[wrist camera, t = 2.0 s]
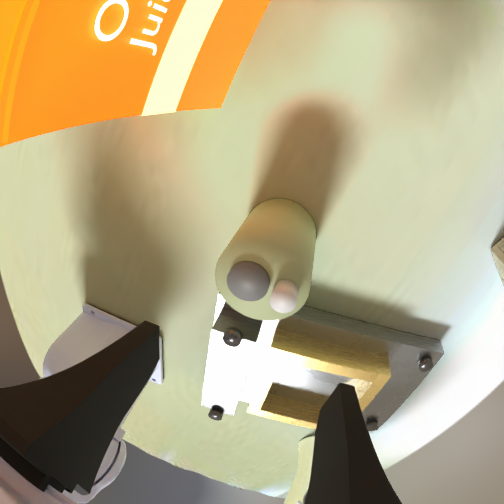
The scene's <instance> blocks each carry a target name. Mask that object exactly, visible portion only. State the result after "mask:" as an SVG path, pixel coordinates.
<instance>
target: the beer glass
mask: <svg viewBox="0 0 504 504" xmlns="http://www.w3.org/2000/svg"><path fill="white" fill-rule="evenodd" d="M314 440H315V435H313V436H309V437H306V438H304V439H302V440H301V441H300V442H299V444H298V454H299V462H298V468H297V472H296V475H295V478H294V481H293V483H292V485H291V488H290V490H289V492H288V494H287V497H286V499H285V502H284V504H304V503H305V499H306V495H307V492H308V488H309V482H310V476H311V468H312V459H313V449H314Z"/></svg>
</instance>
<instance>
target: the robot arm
mask: <svg viewBox="0 0 504 504" xmlns="http://www.w3.org/2000/svg"><path fill="white" fill-rule="evenodd" d="M82 308H83V313H82V314H81V315H80V316H79V317H78V318H77V319H76V320H75V321H74V322H73V323H72V324H71V325H70V326H69V327H68V328H67V329H66V330H65V331H64V332H63V333H62V334H61V335H60V336H59V337H58V338H57V339H56V341H55V342H54V343H53V344H52V345H51V346H50V348H49V350H48V352H47V354H46V356H45V359H44V363H43V374H44V377H41V378H40V379H39V380H36V381H32V382H29V383H25V384H22V385H17V386H12V387H6V388H0V504H77V503H88V502H89V501H90V500H91V499H93V498H94V496H95V495H96V494H97V493H98V492H99V491H100V490H102V489H103V488H104V487H106V486H108V485H109V484H110V483H111V482H113V480H114V479H115V478H116V477H117V476H118V474H119V473H120V471H121V469H122V467H123V465H124V463H125V460H126V445H125V442H124V441H123V440H122V437H123V435H124V434H125V431H124V430H122V429H121V426H122V425H123V423H124V421H125V420H126V418H127V416H128V415H129V413H130V411H131V410H132V408H133V406H134V405H135V403H136V401H137V400H138V398H139V396H140V395H141V393H142V392H143V390H144V388H145V387H146V385H147V383H148V382H149V380H150V381H152V382H155V383H157V384H162V383H163V364H162V339H161V337H160V336H159V326H157V325H155V324H153V323H150V322H148V321H144V322H142V323H141V324H140V325H138V326H135V325H133V324H131V323H128V322H126V321H124V320H121V319H119V318H117V317H115V316H112V315H110V314H108V313H106V312H103V311H101V310H99V309H97V308H95V307H93V306H91V305H88V304H86V303H85V304H84V305H83V306H82ZM304 504H402V503H401V502H400V500H399V498H398V496H397V495H396V493H395V491H394V490H393V488H392V486H391V484H390V483H389V481H388V479H387V477H386V475H385V473H384V470H383V468H382V466H381V464H380V462H379V459H378V457H377V454H376V452H375V449H374V447H373V444H372V441H371V438H370V435H369V432H368V430H367V427H366V424H365V420H364V417H363V414H362V411H361V407H360V404H359V400H358V397H357V393H356V390H355V387H354V386H353V385H348V384H344V383H339V384H338V385H337V387H336V388H335V390H334V391H333V393H332V394H331V395H330V397H329V398H328V400H327V401H326V402H325V404H324V405H323V406H322V408H321V409H320V413H319V417H318V422H317V427H316V431H315V440H314V449H313V459H312V468H311V476H310V482H309V488H308V492H307V495H306V499H305V503H304Z"/></svg>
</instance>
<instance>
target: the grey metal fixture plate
mask: <svg viewBox="0 0 504 504" xmlns="http://www.w3.org/2000/svg"><path fill="white" fill-rule="evenodd" d="M443 354H444V351H443V348H442V345H441V342H440V340H436V339H432V338H427V337H423V336H419V335H415V334H411V333H406V332H402V331H398V330H394V329H390V328H386V327H382V326H378V325H374V324H371V323H367V322H363V321H359V320H355V319H351V318H348V317H344V316H340V315H336V314H333V313H329V312H325V311H322V310H318V309H314V308H311V307H307V306H304V305H303V306H302V307H301V308H300V309H299V310H298V311H297V312H296V313H294V314H293V315H291V316H289V317H287V318H284V319H280V320H274V321H263V320H257V319H253V318H250V317H247V316H245V315H243V314H241V313H239V312H238V311H236V310H235V309H233V308H232V307H231V306H230V305H229V304H228V303H227V302H226V301H225V300H224V298H223V297H222V295H221V294H220V292H219V293H218V298H217V305H216V311H215V318H214V324H213V327H212V330H211V336H210V343H209V350H208V357H207V365H206V372H205V379H204V387H203V394H202V402H201V405H202V406H205V407H208V408H211V409H210V412H209V414H208V415H209V417H210V418H212V419H214V420H221V419H222V416H223V413H226V414H229V415H232V416H234V413H235V410H236V407H237V404H238V401H239V400H240V401H243V402H247V403H249V406H248V410H247V412H248V413H251V414H255V415H259V416H262V417H266V418H270V419H274V420H278V421H282V422H286V423H290V424H294V425H299V426H303V427H308V428H313V429H316V427H317V422H318V417H319V413H320V409H321V408H322V406H323V405H324V404H325V402H326V401H327V400H328V398H329V397H330V395H331V394H332V393H333V391H334V390H335V388H336V387H337V385H338V384H339V383H344V384H348V385H353V386H354V387H355V390H356V393H357V397H358V400H359V404H360V407H361V411H362V414H363V417H364V420H365V424H366V427H367V430H368V431H374V430H377V429H378V428H379V427H380V426H381V425H382V424H383V423H384V422H385V421H386V420H387V419H388V418H389V417H390V416H391V415H392V414H393V413H394V412H395V411H396V410H397V409H398V408H399V407H400V406H401V405H402V403H403V402H404V401H405V400H406V399H407V398H408V397H409V396H410V395H411V393H412V392H413V391H414V390H415V389H416V388H417V387H418V385H419V384H420V383H421V382H422V381H423V379H424V378H425V377H426V376H427V375H428V373H429V372H430V371H431V370H432V368H433V367H434V366H435V365H436V363H437V362H438V361H439V359H440V358H441V357H442V355H443Z"/></svg>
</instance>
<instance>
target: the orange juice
mask: <svg viewBox="0 0 504 504" xmlns="http://www.w3.org/2000/svg"><path fill="white" fill-rule="evenodd" d="M269 2H270V0H0V147H1V146H4V145H7V144H10V143H14V142H17V141H20V140H23V139H27V138H30V137H34V136H37V135H41V134H45V133H49V132H53V131H57V130H61V129H65V128H70V127H74V126H79V125H84V124H88V123H94V122H99V121H104V120H110V119H116V118H122V117H129V116H136V115H141V116H147V115H155V114H163V113H172V112H175V111H181V110H194V109H210V108H221V106H222V103H223V101H224V99H225V96H226V94H227V92H228V89H229V87H230V85H231V82H232V80H233V78H234V75H235V73H236V71H237V69H238V66H239V64H240V62H241V60H242V58H243V55H244V53H245V51H246V49H247V47H248V45H249V43H250V40H251V38H252V36H253V34H254V32H255V30H256V28H257V26H258V24H259V22H260V20H261V18H262V16H263V14H264V12H265V10H266V8H267V6H268V4H269Z"/></svg>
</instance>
